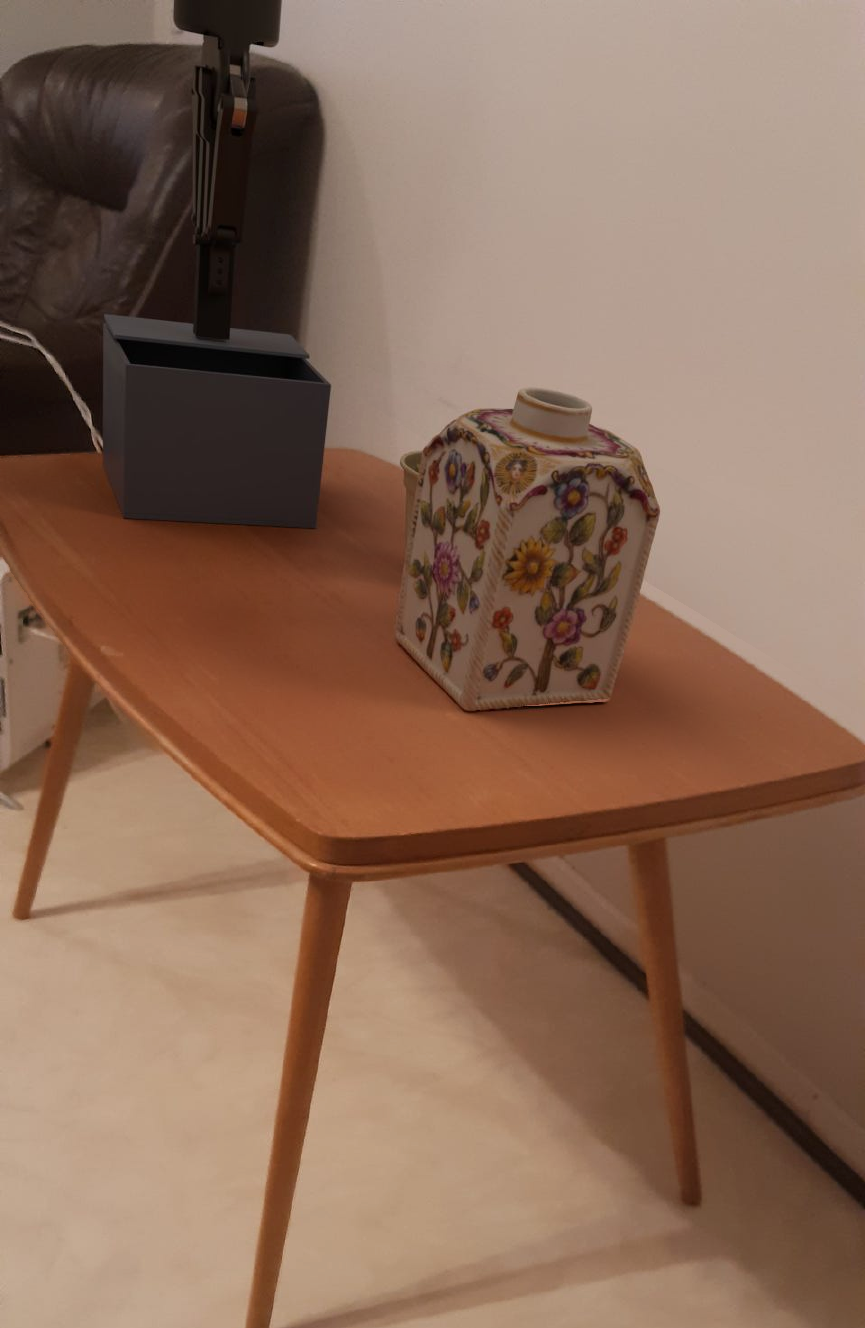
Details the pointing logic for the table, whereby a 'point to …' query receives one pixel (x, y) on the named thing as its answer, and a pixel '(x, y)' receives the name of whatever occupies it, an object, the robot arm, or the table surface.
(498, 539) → the decorative jar
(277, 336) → the flap
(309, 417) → the carton
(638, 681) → the table surface
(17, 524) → the table surface
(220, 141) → the robot arm
